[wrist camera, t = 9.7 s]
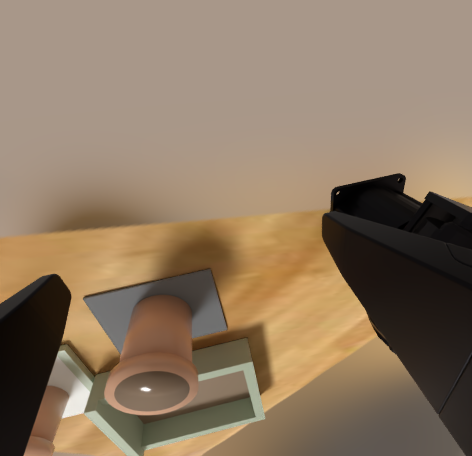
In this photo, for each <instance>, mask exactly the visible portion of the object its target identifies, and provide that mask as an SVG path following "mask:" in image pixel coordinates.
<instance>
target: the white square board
mask: <svg viewBox="0 0 472 456" xmlns="http://www.w3.org/2000/svg"><path fill="white" fill-rule="evenodd" d="M94 379H95V377H94V376H93V374H92V373H91V372H90V371H89V370H88V368H87V367H86V366H85V365H84V364H83V363H82V361H81V360H80V359H79V358H78V357H77V355H76V354H75V353H74V352H73V351H72V349H71V348H70V347H69V346H68V345H67V344H65V345H61V346H60V349H59V352H58V355H57V358H56V361H55V364H54V367H53V370H52V373H51V376H50V379H49V382H48V386H55V387H58V388H61V389H63V390H65V391H66V392H67V393H68V395H69V400H68V403H67V405H66V408H65V411H64V413H63V416H62V418H66V417H70V416H74V415H78V414H82V413H84V410H85V407H86V404H87V401H88V398H89V395H90V391H91V388H92V385H93V382H94Z"/></svg>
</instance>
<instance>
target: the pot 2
mask: <svg viewBox="0 0 472 456" xmlns="http://www.w3.org/2000/svg"><path fill="white" fill-rule="evenodd" d="M197 392H198V370H197V368H196V366H195V365H194V364H193V363H192V310H191V308H190V306H189V305H188V304H187V303H186V302H185V301H184V300H182V299H180V298H178V297H175V296H171V295H155V296H150V297H147V298H145V299H143V300H141V301H140V302H139V303H137V304H136V306H135V307H134V308H133V311H132V314H131V318H130V322H129V326H128V329H127V333H126V337H125V341H124V345H123V349H122V353H121V357H120V361H119V363H118V364H117V365H116V366H115V367H114V368H113V369H112V370H111V372H110V374H109V376H108V380H107V383H106V387H105V391H104V395H105V399H106V401H107V402H108V403H109V404H110V405H111V406H112V407H114V408H115V409H117V410H120V411H122V412H125V413H129V414H135V415H157V414H163V413H167V412H171V411H174V410H177V409H179V408H181V407H183V406H185V405H186V404H188V403H189V402H191V401H192V400H193V399H194V398H195V396H196V395H197Z"/></svg>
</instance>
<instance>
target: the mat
mask: <svg viewBox="0 0 472 456" xmlns="http://www.w3.org/2000/svg"><path fill="white" fill-rule="evenodd" d="M155 295H171V296H175V297H178V298H180V299H182V300H184V301H185V302H186V303H187V304H188V305H189V306H190V308H191V310H192V338H196V337H200V336H204V335H208V334H212V333H216V332H220V331H225V330H227V326H226V323H225V319H224V316H223V312H222V309H221V305H220V301H219V298H218V294H217V291H216V287H215V284H214V280H213V277H212V273H211V269H206V270H202V271H197V272H193V273H189V274H184V275H180V276H176V277H171V278H167V279H162V280H158V281H154V282H149V283H145V284H141V285H136V286H132V287H128V288H123V289H119V290H114V291H110V292H106V293H101V294H97V295H93V296H88V297H84V298H83V300H84V301H85V303H86V304H87V306H88V307H89V309H90V310H91V312H92V313H93V315H94V316H95V318H96V319H97V320H98V322H99V323H100V325H101V326H102V328H103V329H104V331H105V332H106V334H107V335H108V337H109V338H110V339H111V341H112V342H113V344H114V345H115V347H116V348H117V350H118V351H119V353H120V354H121V353H122V349H123V345H124V341H125V337H126V333H127V329H128V326H129V322H130V318H131V314H132V311H133V308H134V307H135V306H136V304H137V303H139V302H140V301H141V300H143V299H145V298H147V297H150V296H155Z"/></svg>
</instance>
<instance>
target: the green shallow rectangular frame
mask: <svg viewBox="0 0 472 456" xmlns="http://www.w3.org/2000/svg"><path fill="white" fill-rule="evenodd" d="M192 363H193V364H194V365H195V366H196V368H197V370H198V392H197V395H196V396H195V398H194V399H193V400H192V401H191V402H189V403H188V404H186V405H185V406H183V407H181V408H179V409H177V410H174V411H171V412H167V413H163V414H157V415H135V414H129V413H125V412H122V411H120V410H117V409H115V408H114V407H112V406H111V405H110V404H109V403H108V402H107V401H106V399H105V395H104V391H105V387H106V383H107V380H108V376H109V374H110V372H111V371H109V372H105V373H101V374H96V376H95V379H94V382H93V385H92V388H91V391H90V395H89V398H88V401H87V404H86V407H85V410H84V414H85V415H86V416H87V417H88V418H89V419H90V420H91V421H92V422H93V423H94V424H95V425H96V426H97V427H98V428H99V429H100V430H101V431H102V432H103V433H104V434H105V435H106V436H107V437H108V438H109V439H110V440H111V441H112V442H113V443H115V444H116V445H117V446H118V447H119V448H120V449H121V450H122V451H123V452H124V453H125V454H126V455H127V456H144V450H148V449H152V448H156V447H160V446H163V445H167V444H171V443H175V442H179V441H183V440H186V439H190V438H194V437H198V436H202V435H206V434H209V433H213V432H217V431H221V430H225V429H229V428H232V427H236V426H240V425H244V424H248V423H251V422H255V421H259V420H263V419H265V416H264V411H263V406H262V402H261V397H260V393H259V388H258V384H257V379H256V375H255V370H254V366H253V361H252V357H251V352H250V348H249V343H248V339H247V338H244V339H240V340H236V341H232V342H227V343H223V344H219V345H215V346H211V347H207V348H203V349H199V350H195V351H192Z"/></svg>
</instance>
